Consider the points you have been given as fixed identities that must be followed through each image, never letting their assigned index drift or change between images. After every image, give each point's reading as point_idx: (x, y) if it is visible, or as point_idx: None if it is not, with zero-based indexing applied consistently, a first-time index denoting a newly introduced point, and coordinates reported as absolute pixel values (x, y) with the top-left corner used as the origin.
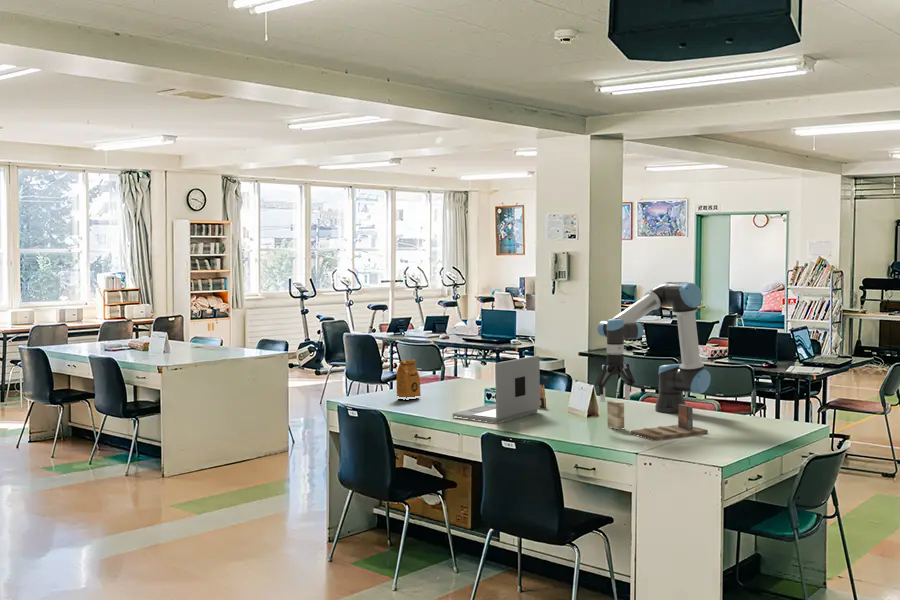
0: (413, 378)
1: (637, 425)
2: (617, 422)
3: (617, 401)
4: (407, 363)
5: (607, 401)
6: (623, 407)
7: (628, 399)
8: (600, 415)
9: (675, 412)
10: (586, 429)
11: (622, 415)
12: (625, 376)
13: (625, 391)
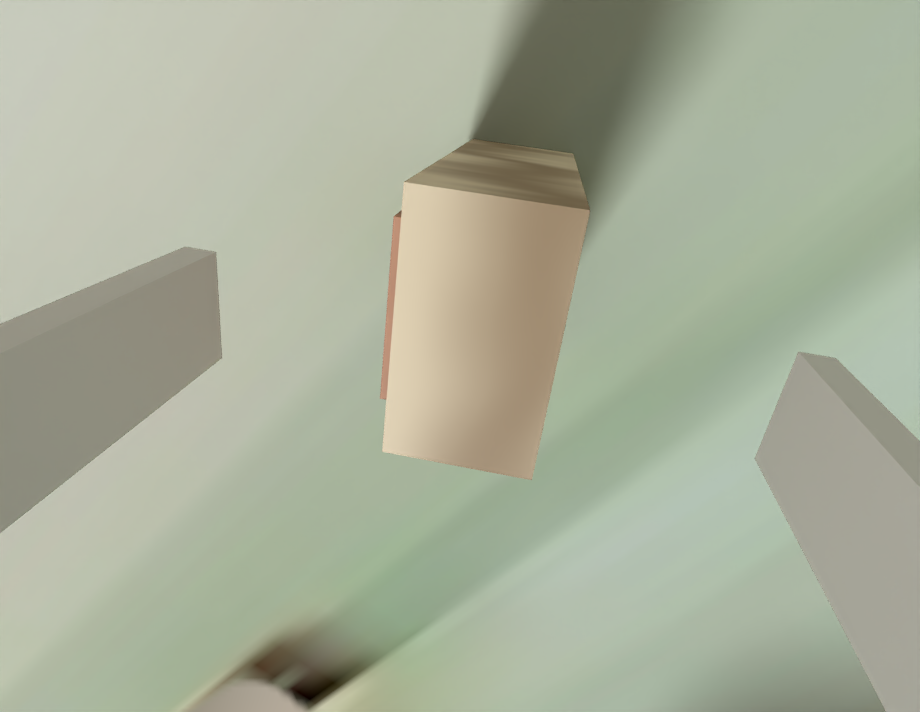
0: None
1: (232, 193)
2: (566, 163)
3: (423, 347)
4: None
5: (532, 473)
6: (439, 170)
7: (211, 258)
8: (241, 649)
9: None
10: (782, 380)
11: (479, 158)
12: None
13: (123, 415)
